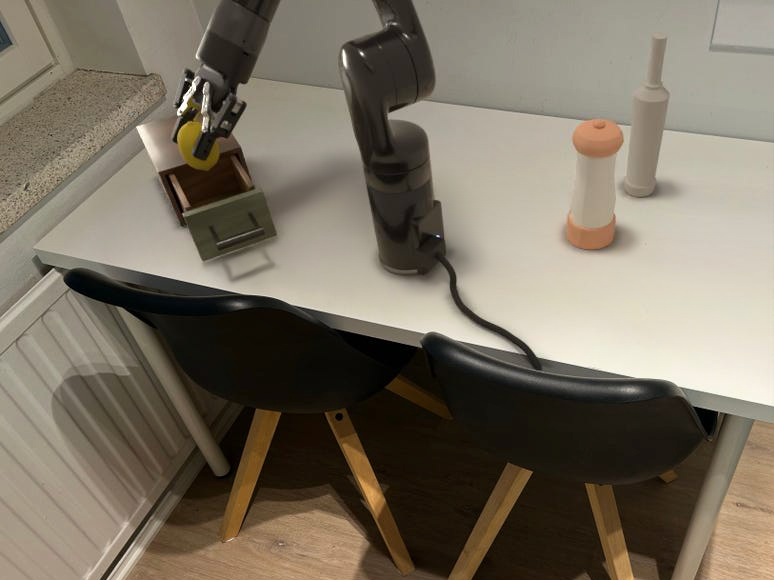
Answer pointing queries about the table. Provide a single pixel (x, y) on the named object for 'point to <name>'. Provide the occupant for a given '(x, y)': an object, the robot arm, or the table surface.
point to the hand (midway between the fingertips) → (187, 150)
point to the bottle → (647, 125)
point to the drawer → (222, 208)
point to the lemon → (187, 142)
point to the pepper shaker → (594, 184)
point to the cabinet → (178, 154)
